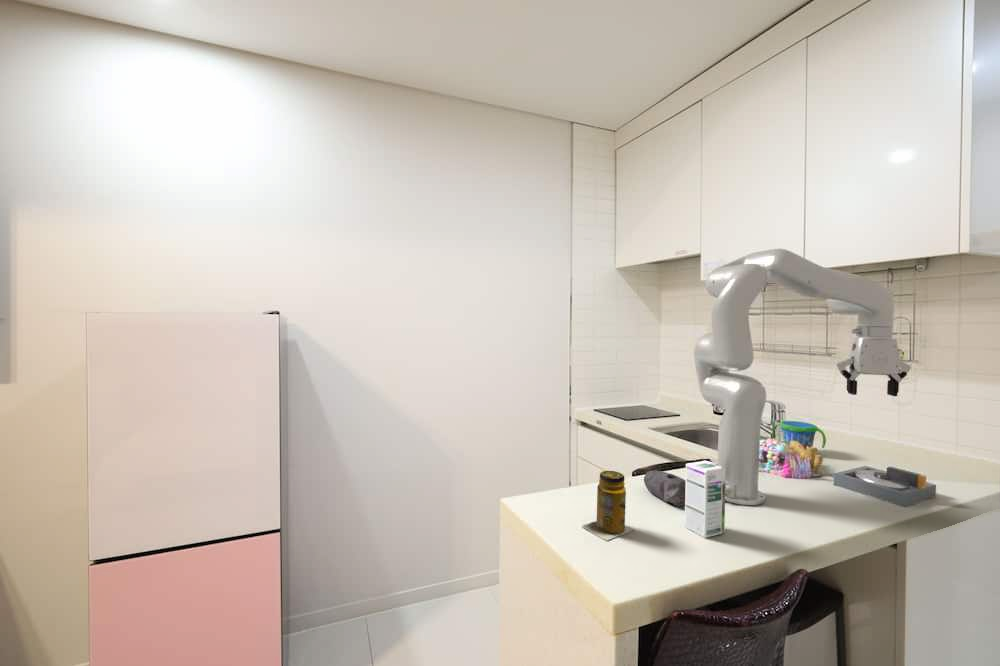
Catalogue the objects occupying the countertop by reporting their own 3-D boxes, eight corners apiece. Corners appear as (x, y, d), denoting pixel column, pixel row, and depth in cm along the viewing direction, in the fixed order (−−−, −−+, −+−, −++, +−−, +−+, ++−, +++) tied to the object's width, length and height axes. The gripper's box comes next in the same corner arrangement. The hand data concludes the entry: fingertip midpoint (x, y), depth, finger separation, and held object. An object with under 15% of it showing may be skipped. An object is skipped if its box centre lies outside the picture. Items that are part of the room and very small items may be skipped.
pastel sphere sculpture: (794, 456, 152) (795, 429, 152) (839, 482, 129) (840, 450, 128) (717, 453, 154) (718, 426, 154) (748, 477, 131) (749, 446, 131)
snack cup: (766, 450, 158) (767, 421, 157) (778, 445, 164) (779, 417, 164) (818, 462, 146) (820, 431, 145) (829, 456, 152) (830, 426, 152)
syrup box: (705, 539, 93) (707, 470, 93) (683, 526, 99) (685, 461, 98) (724, 534, 96) (727, 467, 95) (702, 522, 101) (704, 459, 100)
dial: (845, 479, 125) (846, 461, 124) (869, 473, 130) (870, 456, 130) (911, 499, 111) (912, 479, 111) (935, 491, 117) (936, 473, 116)
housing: (904, 506, 111) (905, 493, 111) (833, 484, 126) (834, 472, 126) (935, 496, 118) (936, 484, 118) (864, 476, 132) (865, 465, 132)
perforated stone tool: (637, 489, 120) (637, 464, 119) (652, 487, 122) (653, 462, 121) (678, 513, 106) (679, 484, 106) (695, 509, 108) (696, 481, 108)
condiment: (633, 530, 97) (635, 476, 96) (606, 541, 92) (608, 484, 91) (607, 517, 103) (608, 466, 102) (581, 527, 98) (582, 473, 97)
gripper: (846, 333, 121) (843, 395, 122) (920, 334, 118) (918, 398, 118) (831, 332, 129) (829, 391, 129) (901, 333, 125) (899, 393, 126)
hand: (871, 394), depth 124 cm, fingers open, 9 cm apart
